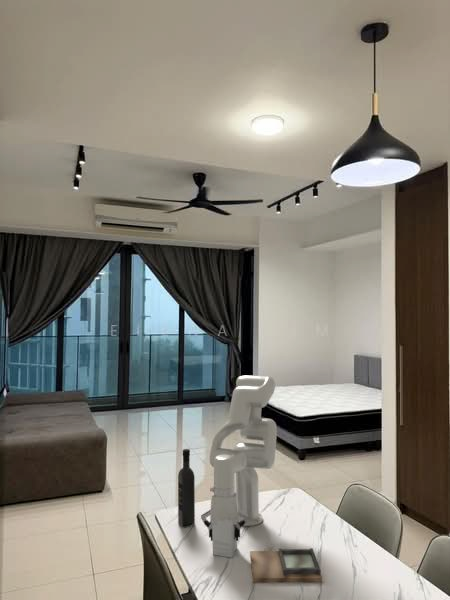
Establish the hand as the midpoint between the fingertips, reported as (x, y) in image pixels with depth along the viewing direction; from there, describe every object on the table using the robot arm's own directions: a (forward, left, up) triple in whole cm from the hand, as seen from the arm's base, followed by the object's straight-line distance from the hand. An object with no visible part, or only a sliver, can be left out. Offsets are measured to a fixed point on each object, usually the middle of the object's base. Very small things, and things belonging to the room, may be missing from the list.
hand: (224, 539), depth 154 cm
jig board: (+22, +6, -4) cm, 23 cm away
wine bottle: (-26, +4, -5) cm, 27 cm away
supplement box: (0, 0, -5) cm, 5 cm away
